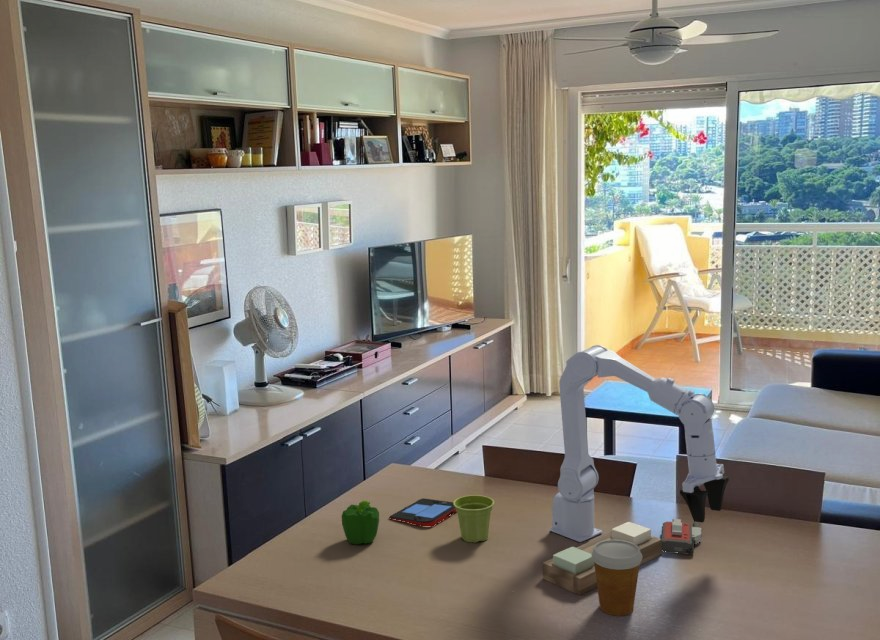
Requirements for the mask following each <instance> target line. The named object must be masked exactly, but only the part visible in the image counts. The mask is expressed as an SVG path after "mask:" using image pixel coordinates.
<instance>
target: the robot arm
mask: <svg viewBox="0 0 880 640" xmlns="http://www.w3.org/2000/svg"><path fill="white" fill-rule="evenodd" d="M594 377H597V378H608V377H616V378H618V379H620V380H622V381H625V382H626V383H628V384H630V385H632V386H634V387H636V388H639V389H640V390H642V391H644V392H647V395H648V397H649V400H650V401H651V402H653V403H654V404H656V405H658V406H659V407H662V408H664V409H665V410H667V411H669V412H671V413H672V414H673V415H676V416H678V419H679V420H680V422H681V423H682V425H683V427H684V435H685V436H684V439H685V447H686V456H687V465H688V474H687V475H686V478H685V480H684V481H683V482H682V483H681V484H682V487H681V488H679V494H680V496H681V497H682V498H683V500H684V501H685V503H686V504H687V507H688V509H689V511H690V515H691V518H692V520H693V522H694V521H695V522H699V523H702V524H703V523H704V522H705V518H706V500H707V499H708V505H709V508H710V510H711V511H717V512H720V511H722V507H723V500H724V494H725V489H726V487H727V484H728V482H729V481H730V479H729V476H728V475H724V474H725V467H724V464H723V463H717V456H716V447H715V436H714V430H713V429H714V428H713V421H712V416H713V415H714V412H715V406H714V402H713V401H712V399H711V398H710V397H708V396H707V395H706V394H705V393H699V392H698V393H695V391H694V390H692V389H690V390H688V389H686V388H684V386H683V387H682V386H681V385H679V384H677V383H675V379H673V378H672V377H668V378H666V377H664V376H662V377H659V378H656V377H653V376H652V375H651V374H648V373H647V372H645V371H644V370H642V369H640V368H639V367H637V366H635V365H634V364H632V363H630V362H629V361H628V360H626V359H624V358H623V357H621V356H620V355H619V354H618V353H617V352H615V351H614V350H612V349H608V348H606V347H605V346H604V345H600V344H595V345H592V346H591V347H588V348H587V349H584V350H581V351H578V352H576V353H574V354H573V355H572V356H570V357H569V358H568V359H566V366H565V368H564V369H563V371H562V374H561V376H560V378H559V382H558V383H559V386H558V387H559V397H560V399H559V401H560V410H561V421H562V422H561V423H562V424H561V425H562V433H563V435H562V436H563V445H564V446H563V448H564V449H563V450H564V459H563V462H562V464H561V466H560V468H559V469H560V471H559V472H560V476H559V479H558V480H557V481H558V482H557V489H558V492H557V493H556V494H555V495H554V497H553V500H552V503H551V506H552V507H551V519H552V520H551V523H552V524H551V525H552V526H551V528H550V529H549V531H550V532H553V533H554V534H558V535H560V536H562V537H566V538H568V539H570V540H573V541H576V542H579V543H582V542H585V541H586V540H589V539H591V538H594V537H596V536H598V535H600V534H602V533H603V530H602V529H598V528H596V527H595V492H594V489H595V488H596V486H598V483H599V478H600V477H599V472H598V471H597V469H596V467H595V463H594V461H595V460H594V458H593V457H591V455H590V454H589V443H588V432H587V419H586V416H587V415H586V405H585V404H586V403H585V393H584V392H585V390H584V389H585V387H586V386H587V385H588V384H589V383H590V382H591V381H592V380H593V378H594ZM702 485H703V486H704V489H705V490H702V489H701V488H700V486H702Z"/></svg>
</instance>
